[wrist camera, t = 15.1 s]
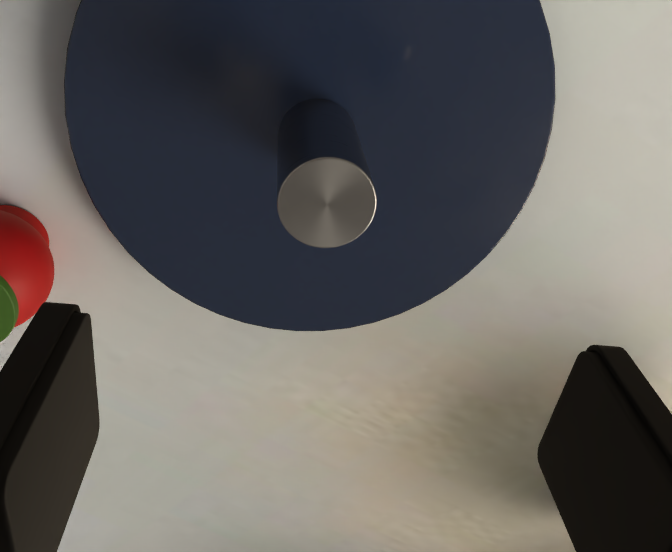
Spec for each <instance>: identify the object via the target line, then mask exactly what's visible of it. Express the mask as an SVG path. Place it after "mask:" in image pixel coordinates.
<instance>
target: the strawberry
mask: <svg viewBox="0 0 672 552" xmlns="http://www.w3.org/2000/svg"><path fill="white" fill-rule="evenodd" d="M53 280H54V262H53V257H52V254H51V251H50V249H49V238H48V234H47V231H46V229H45V227H44V226H43V224H42V223H41V222H40V221H39V220H38V219H37V218H36V217H35V216H34V215H32V214H31V213H29V212H28V211H26V210H24V209H21V208H18V207H15V206H10V205H0V342H1V341H2V340H4V339H5V338H6V337H7V336H8V335H9V334H10V332H11V331H12V329H13V328H14V327H16V326H18V325H20V324H22V323H24V322H25V321H27V320H28V319H30V318H31V317H32V316H33V315H34V314H35V313H36V312H37V311H38V309H39V308H40V306H41V305H42V304H43V303H45V301H46V300H47V298H48V296H49V294H50V291H51V289H52V285H53Z"/></svg>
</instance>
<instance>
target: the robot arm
mask: <svg viewBox="0 0 672 552" xmlns="http://www.w3.org/2000/svg"><path fill="white" fill-rule="evenodd" d="M98 433H99V409H98V398H97V386H96V374H95V362H94V350H93V339H92V327H91V318H90V315H89V314H88V313H81V312H80V308H79V306H78V305H76V304H63V303H50V302H45V303H43V304H42V305H41V306H40V308H39V309H38V311H37V313H36V314H35V316H34V317H33V319H32V321H31V322H30V324H29V326H28V327H27V329H26V330H25V332H24V334H23V335H22V337H21V339H20V340H19V342H18V344H17V345H16V347H15V348H14V350H13V352H12V353H11V355H10V357H9V358H8V360H7V361H6V363H5V365H4V366H3V368H2V370H1V371H0V552H57V549H58V547H59V544H60V541H61V538H62V536H63V533H64V530H65V527H66V525H67V522H68V519H69V516H70V513H71V511H72V508H73V505H74V502H75V500H76V497H77V494H78V491H79V488H80V486H81V483H82V480H83V477H84V475H85V472H86V469H87V466H88V464H89V461H90V458H91V455H92V452H93V450H94V447H95V444H96V441H97V438H98ZM538 462H539V466H540V468H541V470H542V473H543V475H544V477H545V480H546V482H547V484H548V487H549V489H550V492H551V494H552V496H553V499H554V501H555V503H556V506H557V508H558V510H559V513H560V515H561V517H562V520H563V522H564V524H565V527H566V529H567V532H568V534H569V536H570V539H571V541H572V543H573V546H574V548H575V550H576V552H672V414H671V413H670V411H669V410H668V409H667V407H666V406H665V404H664V403H663V402H662V400H661V399H660V397H659V396H658V395H657V393H656V392H655V390H654V389H653V388H652V386H651V385H650V384H649V382H648V381H647V379H646V378H645V377H644V375H643V374H642V372H641V371H640V370H639V368H638V367H637V365H636V364H635V363H634V361H633V360H632V358H631V357H630V356H629V354H628V353H627V352H626V351H625V350H624V349H623V348H621V347H615V346H602V345H591V346H590V347H589V348H587V350H586V352H585V351H583V352H581V353H580V354H579V355H578V356H577V358H576V361H575V363H574V365H573V368H572V370H571V372H570V375H569V377H568V379H567V382H566V384H565V386H564V388H563V391H562V393H561V395H560V398H559V400H558V402H557V405H556V407H555V409H554V412H553V414H552V416H551V418H550V421H549V423H548V425H547V428H546V430H545V432H544V435H543V437H542V439H541V442H540V444H539V447H538Z"/></svg>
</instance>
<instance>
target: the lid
mask: <svg viewBox="0 0 672 552" xmlns="http://www.w3.org/2000/svg"><path fill="white" fill-rule="evenodd" d="M64 94H65V116H66V121H67V127H68V133H69V138H70V144H71V148H72V151H73V154H74V158H75V161H76V164H77V167H78V170H79V173H80V176H81V179H82V181H83V183H84V185H85V187H86V189H87V192H88V194H89V196H90V198H91V200H92V202H93V204H94V206H95V208H96V209H97V211H98V212H99V214H100V216H101V217H102V219H103V220H104V222H105V223H106V225H107V227H108V228H109V230H110V231H111V232H112V234H113V235H114V236H115V237H116V238H117V240H118V241H119V242H120V243H121V245H122V246H123V247H124V248H125V249H126V251H127V252H128V253H129V254H130V255H131V256H132V257H133V258H134V259H135V260H136V261H137V262H138V263H139V264H140V265H142V266H143V267H144V268H145V269H146V270H147V271H148V272H149V273H150V274H151V275H153V276H154V277H155V278H157V279H158V280H159V281H161V282H162V283H163V284H165V285H166V286H167V287H169V288H170V289H171V290H173V291H175V292H176V293H178V294H180V295H181V296H183V297H185V298H186V299H188V300H190V301H191V302H193V303H195V304H197V305H199V306H201V307H204V308H206V309H208V310H210V311H213V312H215V313H217V314H219V315H222V316H225V317H228V318H231V319H234V320H237V321H241V322H244V323H248V324H252V325H257V326H262V327H267V328H272V329H282V330H292V331H326V330H335V329H344V328H351V327H356V326H360V325H365V324H370V323H374V322H377V321H380V320H383V319H386V318H389V317H392V316H395V315H398V314H401V313H403V312H405V311H407V310H410V309H412V308H414V307H416V306H418V305H421V304H423V303H425V302H426V301H428V300H430V299H431V298H433V297H435V296H437V295H438V294H440V293H442V292H443V291H445V290H447V289H448V288H449V287H451V286H452V285H453V284H455V283H456V282H457V281H459V280H460V279H461V278H463V277H464V276H465V275H467V274H468V273H469V272H470V271H471V270H472V269H473V268H474V267H475V266H477V265H478V264H479V263H480V262H481V261H482V260H483V259H484V258H485V257H486V256H487V255H488V254H489V253H490V252H491V251H492V249H493V248H494V247H495V246H496V245H497V244H498V242H499V241H500V240H501V239H502V238H503V237H504V235H505V234H506V233H507V231H508V230H509V228H510V227H511V225H512V224H513V222H514V221H515V220H516V218H517V217H518V215H519V214H520V212H521V211H522V209H523V207H524V205H525V203H526V201H527V199H528V197H529V195H530V193H531V191H532V189H533V187H534V186H535V183H536V180H537V178H538V175H539V172H540V170H541V167H542V164H543V162H544V159H545V155H546V151H547V147H548V143H549V139H550V134H551V130H552V123H553V114H554V105H555V65H554V58H553V52H552V46H551V39H550V33H549V30H548V26H547V23H546V20H545V16H544V13H543V10H542V7H541V3H540V0H81V2H80V5H79V7H78V10H77V12H76V15H75V19H74V23H73V27H72V31H71V35H70V39H69V43H68V47H67V57H66V67H65V77H64Z"/></svg>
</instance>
